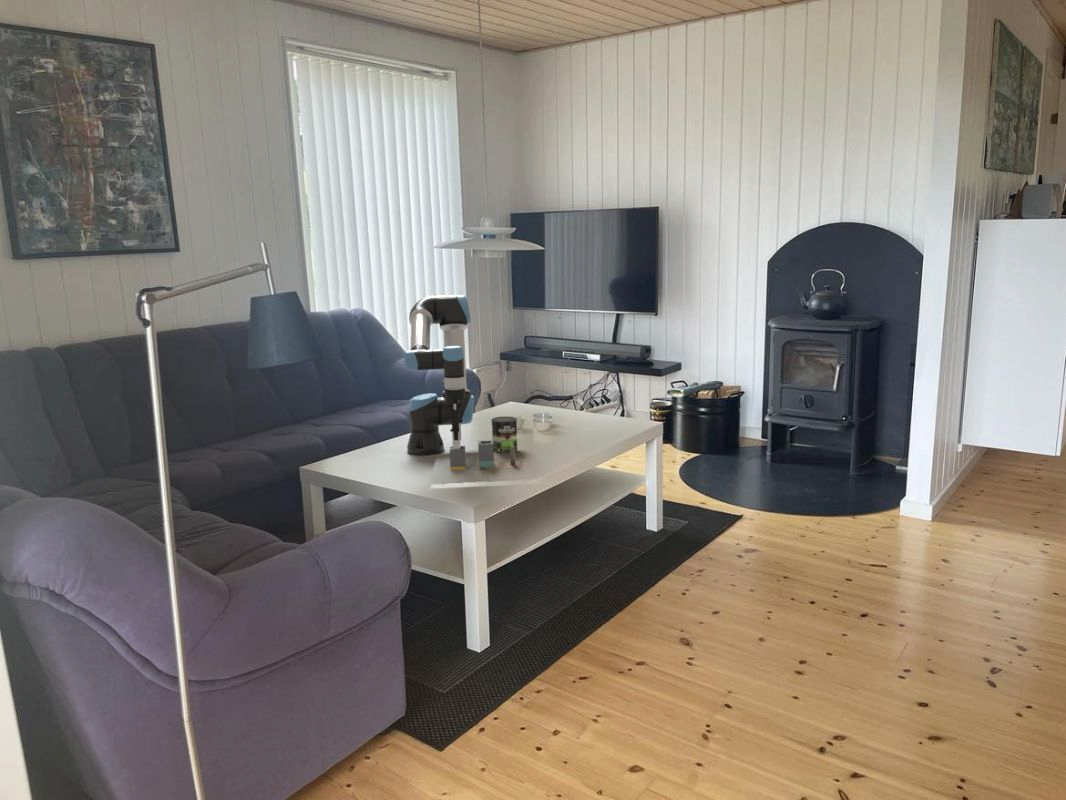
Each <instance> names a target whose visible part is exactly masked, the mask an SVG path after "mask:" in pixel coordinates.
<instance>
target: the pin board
mask: <svg viewBox="0 0 1066 800" xmlns="http://www.w3.org/2000/svg"><path fill="white" fill-rule="evenodd" d="M509 456H510V460H501V461H500V460H499V461H494V467H487V468H479V461H478V462H475V470H478V471H479V470H480V471H481V470H498V469H499V470H501V469H504V470H505V469H520V468H521V469H523V468H524V469H525V463H524V460H523V459H522V460H516V451H515V446H510V452H509Z"/></svg>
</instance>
